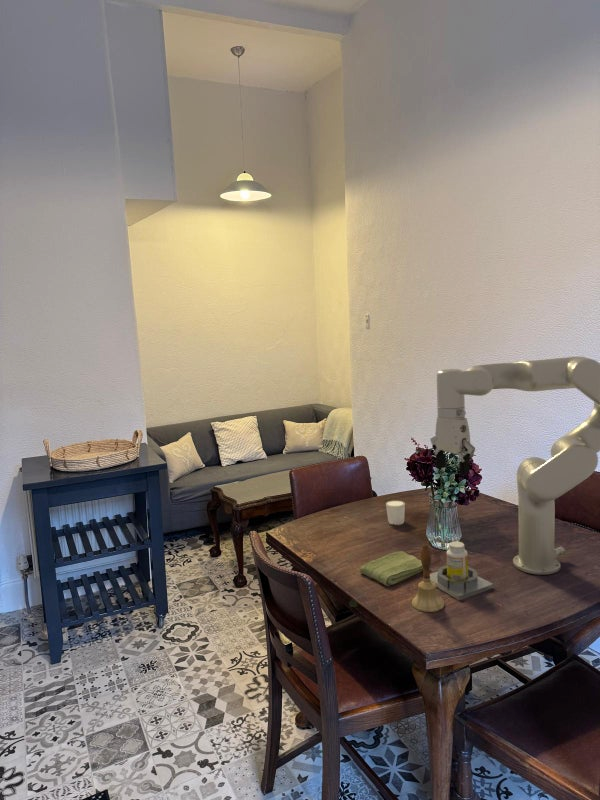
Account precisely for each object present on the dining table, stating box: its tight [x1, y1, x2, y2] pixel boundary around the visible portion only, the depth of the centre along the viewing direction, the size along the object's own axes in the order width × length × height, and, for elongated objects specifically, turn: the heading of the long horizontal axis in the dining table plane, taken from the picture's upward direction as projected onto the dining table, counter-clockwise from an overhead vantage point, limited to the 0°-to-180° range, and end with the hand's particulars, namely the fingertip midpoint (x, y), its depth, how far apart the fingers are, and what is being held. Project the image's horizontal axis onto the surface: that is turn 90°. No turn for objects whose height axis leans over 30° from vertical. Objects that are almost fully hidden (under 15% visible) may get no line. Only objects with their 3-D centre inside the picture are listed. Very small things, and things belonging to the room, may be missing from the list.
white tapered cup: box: [385, 500, 406, 526], centre depth 204 cm, size 7×7×7 cm
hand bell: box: [411, 543, 446, 613], centre depth 145 cm, size 8×8×16 cm
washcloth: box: [359, 550, 423, 587], centre depth 166 cm, size 13×18×3 cm
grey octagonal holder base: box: [430, 565, 494, 601], centre depth 155 cm, size 12×14×3 cm
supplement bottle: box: [446, 541, 469, 580], centre depth 155 cm, size 6×6×10 cm
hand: (452, 471), depth 164 cm, fingers open, 9 cm apart
